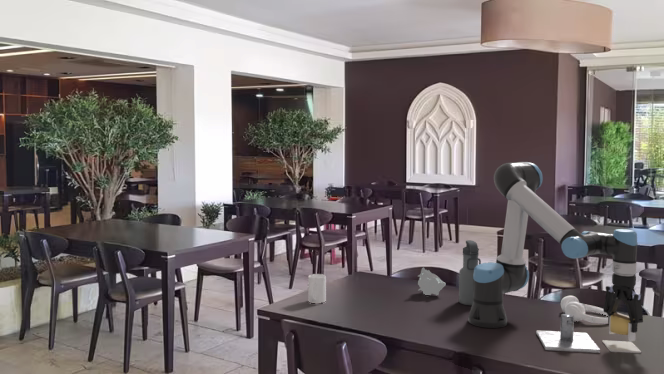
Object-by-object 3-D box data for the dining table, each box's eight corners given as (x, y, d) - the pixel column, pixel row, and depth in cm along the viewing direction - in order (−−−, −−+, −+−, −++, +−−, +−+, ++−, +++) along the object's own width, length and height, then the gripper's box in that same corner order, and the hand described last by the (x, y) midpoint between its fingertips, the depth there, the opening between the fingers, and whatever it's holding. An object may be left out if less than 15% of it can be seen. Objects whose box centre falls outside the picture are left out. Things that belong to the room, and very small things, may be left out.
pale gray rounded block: (301, 305, 263) (301, 279, 262) (311, 298, 274) (311, 273, 273) (318, 307, 260) (318, 280, 259) (328, 300, 271) (328, 274, 270)
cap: (605, 329, 211) (605, 313, 211) (621, 327, 214) (622, 310, 213) (622, 336, 204) (623, 319, 204) (639, 333, 207) (639, 316, 206)
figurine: (448, 293, 284) (424, 283, 292) (448, 269, 276) (423, 259, 284) (436, 305, 277) (412, 294, 285) (436, 281, 270) (411, 270, 278)
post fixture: (545, 349, 207) (546, 322, 206) (536, 333, 225) (537, 307, 224) (599, 352, 204) (601, 324, 203) (586, 335, 222) (587, 309, 221)
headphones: (566, 323, 237) (619, 331, 233) (569, 303, 236) (622, 311, 232) (557, 309, 256) (606, 316, 252) (560, 291, 255) (609, 298, 251)
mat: (610, 351, 205) (610, 349, 205) (602, 341, 215) (602, 340, 215) (641, 353, 204) (641, 351, 204) (631, 343, 214) (631, 341, 214)
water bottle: (484, 305, 262) (485, 243, 260) (462, 306, 261) (463, 243, 259) (476, 299, 272) (478, 239, 270) (456, 300, 271) (457, 239, 269)
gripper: (593, 268, 216) (591, 330, 217) (640, 280, 197) (638, 347, 198) (609, 267, 218) (607, 327, 220) (657, 279, 199) (654, 345, 201)
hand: (621, 337), depth 209 cm, fingers closed on cap, 7 cm apart
